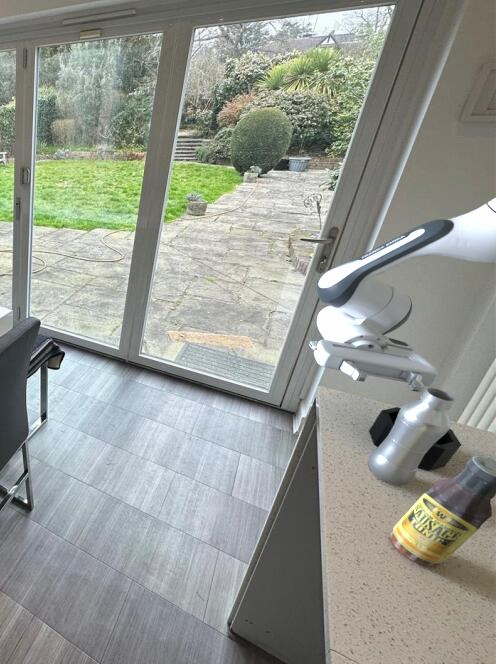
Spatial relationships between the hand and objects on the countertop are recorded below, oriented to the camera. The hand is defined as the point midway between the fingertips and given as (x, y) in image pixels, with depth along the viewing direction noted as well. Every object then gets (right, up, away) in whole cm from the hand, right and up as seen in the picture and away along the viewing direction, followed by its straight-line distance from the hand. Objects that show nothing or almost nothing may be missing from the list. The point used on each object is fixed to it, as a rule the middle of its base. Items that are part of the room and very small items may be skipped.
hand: (389, 383), depth 82 cm
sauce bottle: (-13, -24, -17) cm, 32 cm away
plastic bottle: (-4, -17, -3) cm, 18 cm away
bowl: (+6, -14, +3) cm, 16 cm away
